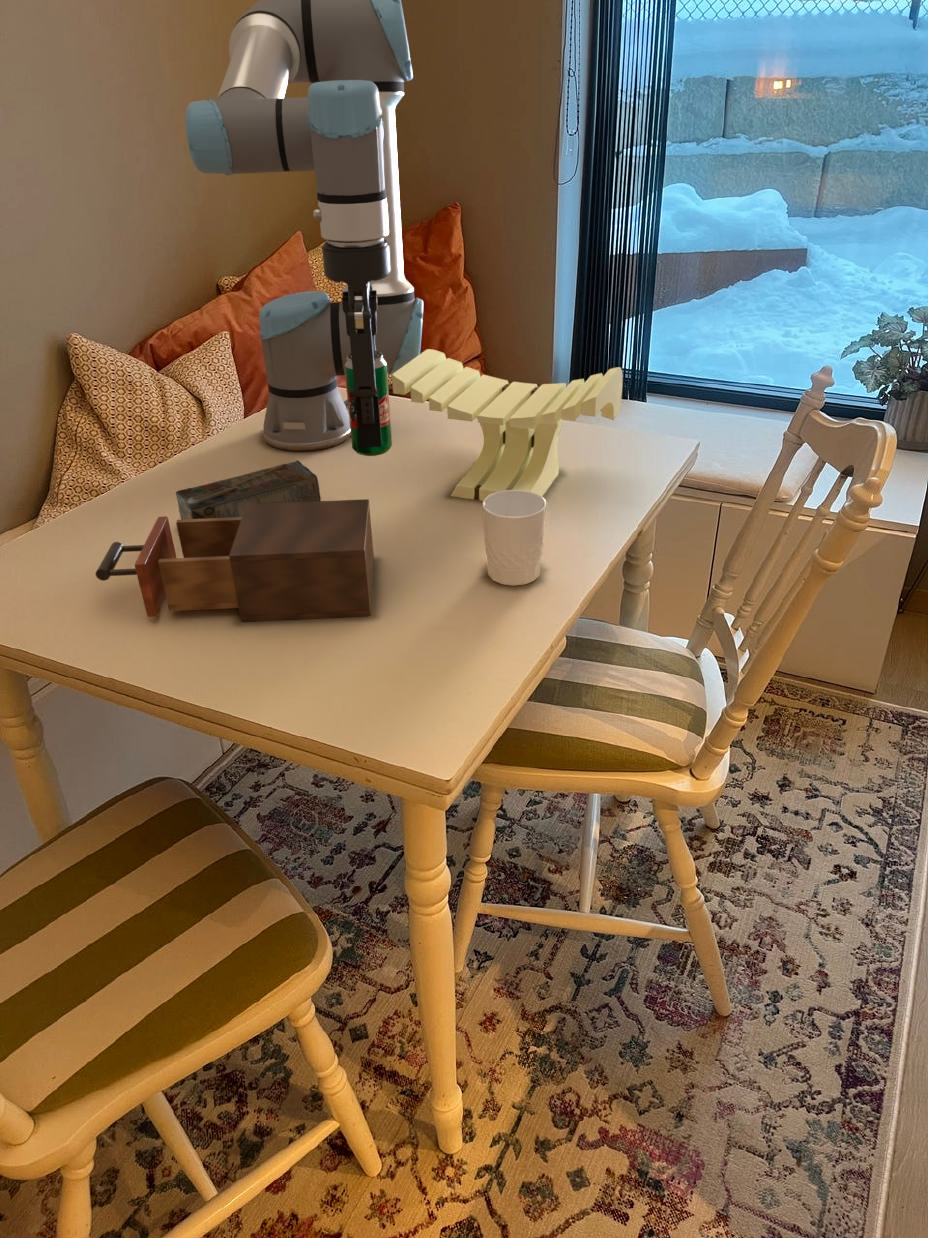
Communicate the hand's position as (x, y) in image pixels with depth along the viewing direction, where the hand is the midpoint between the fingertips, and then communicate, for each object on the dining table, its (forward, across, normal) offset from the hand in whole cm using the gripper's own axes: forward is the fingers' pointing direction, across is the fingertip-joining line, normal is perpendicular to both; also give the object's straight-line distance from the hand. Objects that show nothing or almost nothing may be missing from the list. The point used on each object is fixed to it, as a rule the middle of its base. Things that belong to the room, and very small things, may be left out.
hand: (371, 436), depth 117 cm
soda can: (+2, 0, 0) cm, 2 cm away
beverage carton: (+17, -12, -18) cm, 28 cm away
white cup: (+17, +7, +17) cm, 25 cm away
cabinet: (+17, +9, -9) cm, 21 cm away
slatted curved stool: (+17, -21, +20) cm, 34 cm away
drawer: (+16, +8, -23) cm, 29 cm away
